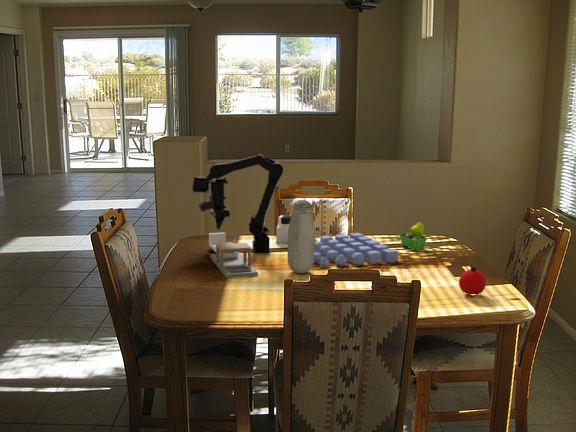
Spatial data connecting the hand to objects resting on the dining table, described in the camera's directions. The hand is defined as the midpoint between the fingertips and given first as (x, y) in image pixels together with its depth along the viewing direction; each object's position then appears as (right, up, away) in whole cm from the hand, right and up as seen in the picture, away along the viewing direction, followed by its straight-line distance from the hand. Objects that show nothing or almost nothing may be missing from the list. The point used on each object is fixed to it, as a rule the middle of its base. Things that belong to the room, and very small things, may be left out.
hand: (217, 229), depth 284 cm
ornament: (+93, -22, -54) cm, 110 cm away
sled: (+3, -9, -7) cm, 11 cm away
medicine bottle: (+29, -6, +18) cm, 34 cm away
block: (+5, -9, -14) cm, 18 cm away
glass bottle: (+35, -16, -30) cm, 49 cm away
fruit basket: (+86, -8, +10) cm, 87 cm away
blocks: (+53, -11, -3) cm, 54 cm away
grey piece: (+9, -14, -24) cm, 29 cm away
